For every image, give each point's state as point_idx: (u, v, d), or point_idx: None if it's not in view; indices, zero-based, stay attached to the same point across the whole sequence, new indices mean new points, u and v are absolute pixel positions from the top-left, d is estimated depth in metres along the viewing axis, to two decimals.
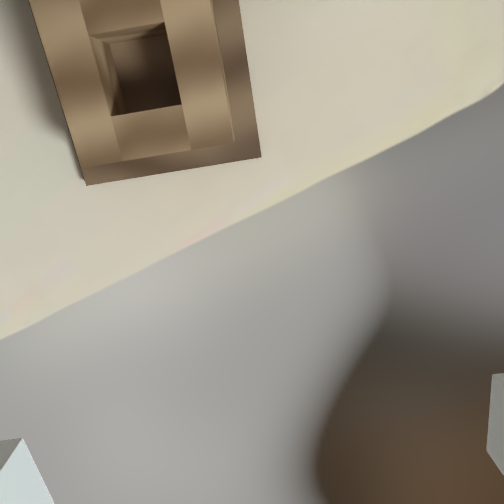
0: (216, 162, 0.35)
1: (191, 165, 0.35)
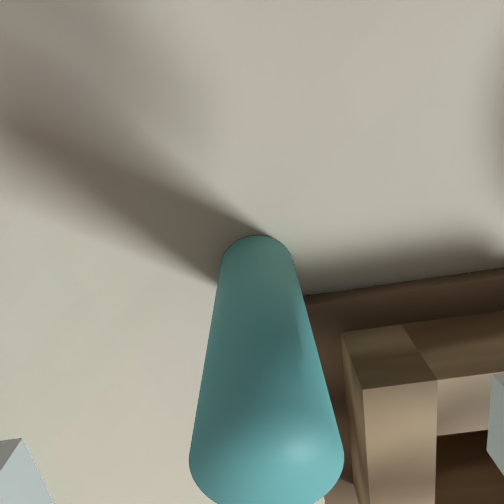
0: None
1: None
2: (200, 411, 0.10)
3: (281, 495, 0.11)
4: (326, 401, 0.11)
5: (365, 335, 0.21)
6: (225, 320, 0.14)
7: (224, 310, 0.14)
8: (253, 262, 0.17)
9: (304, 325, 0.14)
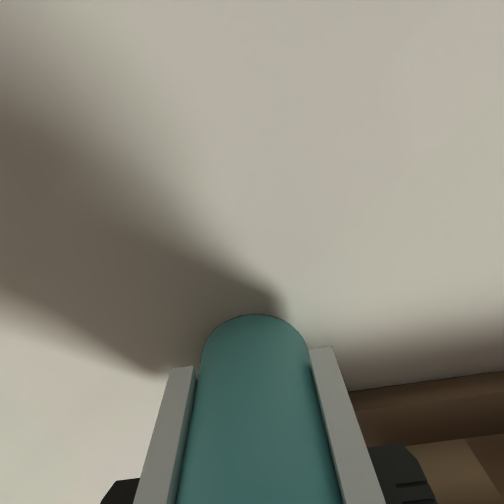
0: None
1: None
2: None
3: None
4: None
5: None
6: None
7: None
8: (249, 383, 0.11)
9: None
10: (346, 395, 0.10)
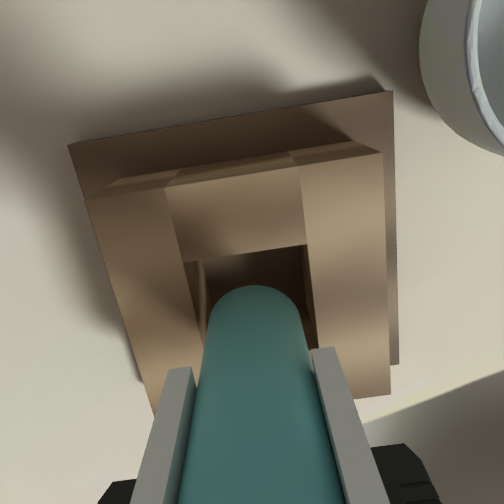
0: None
1: None
2: None
3: None
4: None
5: (138, 177, 0.19)
6: (207, 443, 0.09)
7: (208, 418, 0.10)
8: (249, 333, 0.13)
9: (323, 448, 0.09)
10: (349, 395, 0.10)
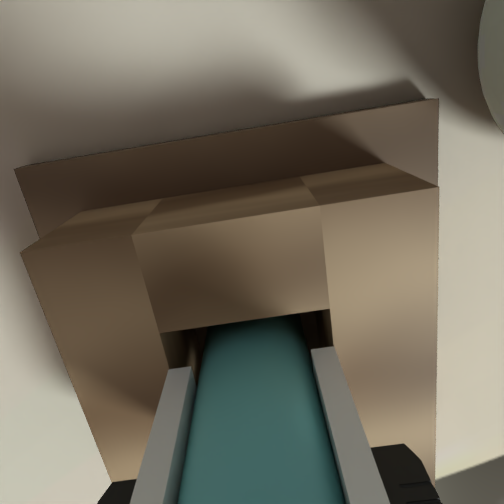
0: None
1: None
2: None
3: None
4: None
5: (106, 210, 0.15)
6: (207, 438, 0.09)
7: (208, 414, 0.10)
8: (249, 331, 0.13)
9: (322, 444, 0.10)
10: (349, 395, 0.10)
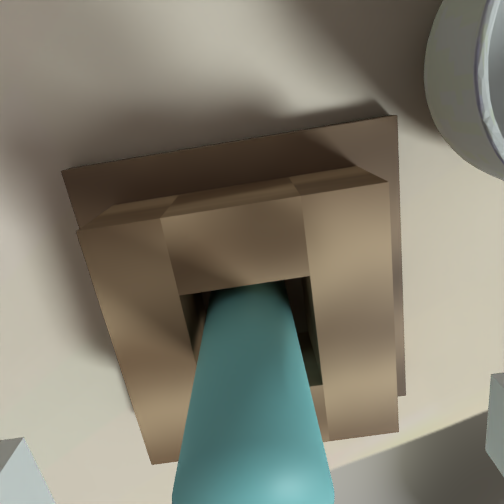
0: None
1: None
2: (185, 446, 0.10)
3: None
4: (316, 435, 0.10)
5: (134, 203, 0.19)
6: (213, 347, 0.13)
7: (213, 336, 0.14)
8: (244, 287, 0.17)
9: (294, 353, 0.13)
10: None
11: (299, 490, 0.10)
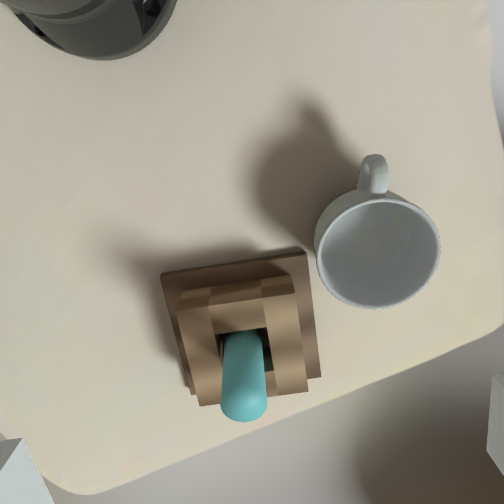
0: None
1: None
2: (223, 388, 0.34)
3: (248, 414, 0.34)
4: (262, 385, 0.34)
5: (192, 291, 0.42)
6: (230, 357, 0.37)
7: (229, 352, 0.38)
8: None
9: (259, 359, 0.37)
10: None
11: (257, 400, 0.34)
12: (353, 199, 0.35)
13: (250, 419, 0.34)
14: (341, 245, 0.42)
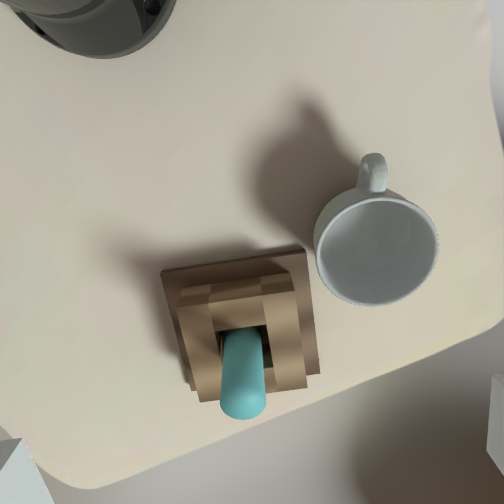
0: None
1: None
2: (223, 386, 0.34)
3: (247, 412, 0.35)
4: (261, 384, 0.35)
5: (192, 288, 0.43)
6: (229, 355, 0.38)
7: (229, 350, 0.38)
8: (240, 328, 0.41)
9: (258, 357, 0.38)
10: None
11: (255, 398, 0.34)
12: (352, 197, 0.35)
13: (249, 417, 0.35)
14: (340, 243, 0.42)
